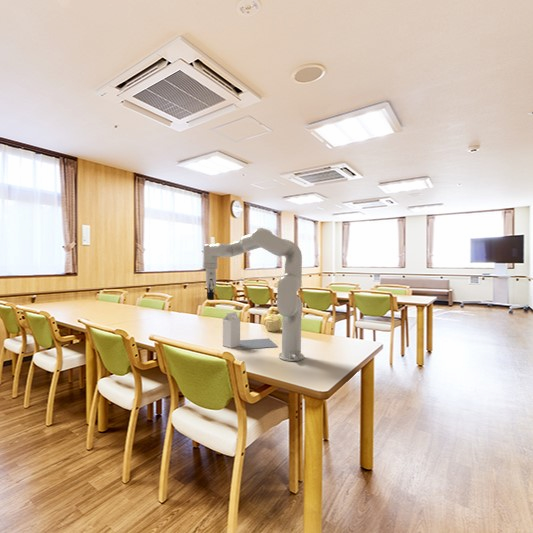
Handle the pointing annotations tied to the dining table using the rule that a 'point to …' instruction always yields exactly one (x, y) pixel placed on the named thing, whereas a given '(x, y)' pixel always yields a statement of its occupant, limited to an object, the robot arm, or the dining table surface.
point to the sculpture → (272, 323)
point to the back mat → (257, 344)
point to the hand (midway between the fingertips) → (210, 298)
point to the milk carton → (231, 330)
